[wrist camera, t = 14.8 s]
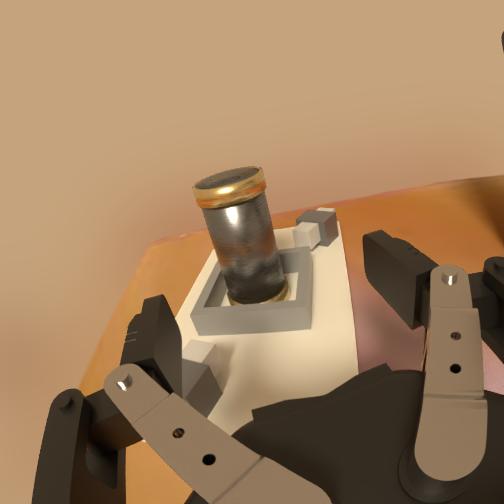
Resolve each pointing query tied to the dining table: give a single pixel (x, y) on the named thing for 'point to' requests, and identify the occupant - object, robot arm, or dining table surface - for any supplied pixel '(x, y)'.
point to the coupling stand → (271, 330)
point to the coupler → (243, 235)
